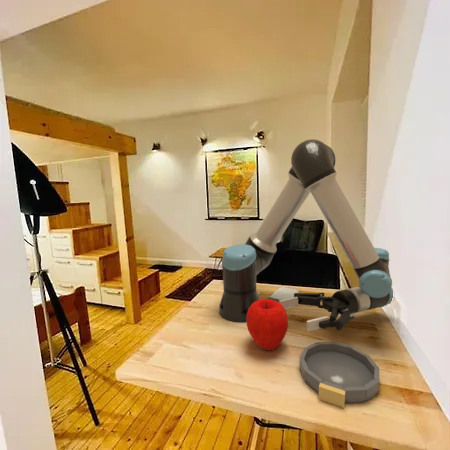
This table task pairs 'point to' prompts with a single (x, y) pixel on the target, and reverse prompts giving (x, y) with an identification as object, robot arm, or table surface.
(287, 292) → the hard drive
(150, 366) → the table surface
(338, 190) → the robot arm
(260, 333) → the apple
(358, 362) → the dish
